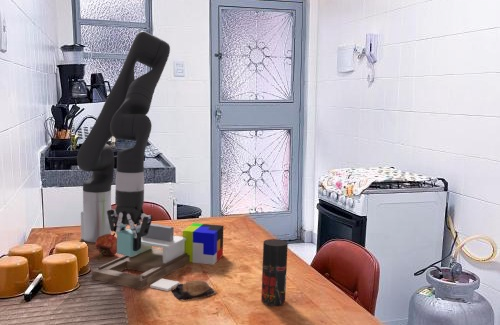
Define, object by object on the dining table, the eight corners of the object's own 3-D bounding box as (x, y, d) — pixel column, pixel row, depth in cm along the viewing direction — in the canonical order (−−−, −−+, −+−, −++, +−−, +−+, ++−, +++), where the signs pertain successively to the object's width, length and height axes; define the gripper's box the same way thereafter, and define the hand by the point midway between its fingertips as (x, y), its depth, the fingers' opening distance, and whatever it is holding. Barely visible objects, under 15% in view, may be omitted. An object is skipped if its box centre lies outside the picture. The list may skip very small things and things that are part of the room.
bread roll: (204, 285, 129) (205, 272, 129) (219, 296, 122) (220, 282, 122) (167, 292, 124) (168, 278, 123) (181, 304, 116) (181, 289, 116)
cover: (127, 256, 142) (127, 226, 141) (147, 247, 151) (147, 218, 150) (167, 263, 136) (168, 232, 135) (185, 254, 145) (186, 224, 144)
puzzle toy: (213, 266, 144) (214, 233, 143) (182, 262, 146) (182, 230, 145) (222, 256, 154) (223, 225, 153) (193, 252, 156) (193, 223, 155)
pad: (150, 287, 125) (150, 285, 125) (161, 280, 130) (162, 278, 130) (168, 291, 123) (168, 288, 123) (179, 284, 128) (179, 282, 128)
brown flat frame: (91, 278, 129) (91, 268, 129) (146, 253, 152) (146, 245, 152) (140, 289, 123) (141, 279, 123) (190, 261, 146) (190, 252, 146)
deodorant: (260, 296, 121) (262, 239, 120) (283, 296, 122) (285, 239, 120) (262, 306, 116) (264, 246, 114) (286, 306, 116) (289, 246, 114)
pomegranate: (111, 267, 145) (130, 242, 151) (98, 252, 141) (117, 226, 147) (96, 265, 149) (115, 240, 155) (82, 250, 145) (102, 225, 151)
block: (116, 253, 131) (117, 232, 130) (127, 249, 135) (127, 228, 134) (130, 256, 129) (130, 234, 128) (140, 252, 133) (140, 231, 132)
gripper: (160, 188, 130) (158, 249, 132) (118, 182, 136) (117, 241, 138) (143, 193, 123) (141, 257, 125) (99, 186, 129) (98, 247, 131)
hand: (128, 248), depth 132 cm, fingers closed on block, 4 cm apart
